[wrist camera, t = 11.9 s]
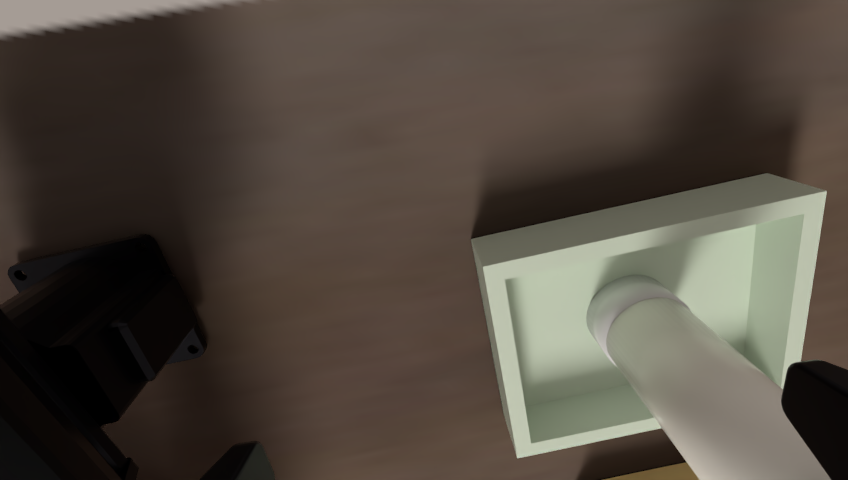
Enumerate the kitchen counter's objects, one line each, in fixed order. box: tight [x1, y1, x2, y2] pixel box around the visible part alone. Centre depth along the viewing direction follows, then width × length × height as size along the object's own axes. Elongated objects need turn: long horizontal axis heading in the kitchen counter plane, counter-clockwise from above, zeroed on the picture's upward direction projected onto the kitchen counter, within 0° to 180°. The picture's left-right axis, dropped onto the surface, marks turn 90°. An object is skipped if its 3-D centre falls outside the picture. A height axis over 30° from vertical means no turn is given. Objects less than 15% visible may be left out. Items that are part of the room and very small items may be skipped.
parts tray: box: [471, 173, 827, 458], centre depth 21 cm, size 14×11×3 cm
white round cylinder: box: [586, 275, 831, 480], centre depth 16 cm, size 4×4×13 cm
